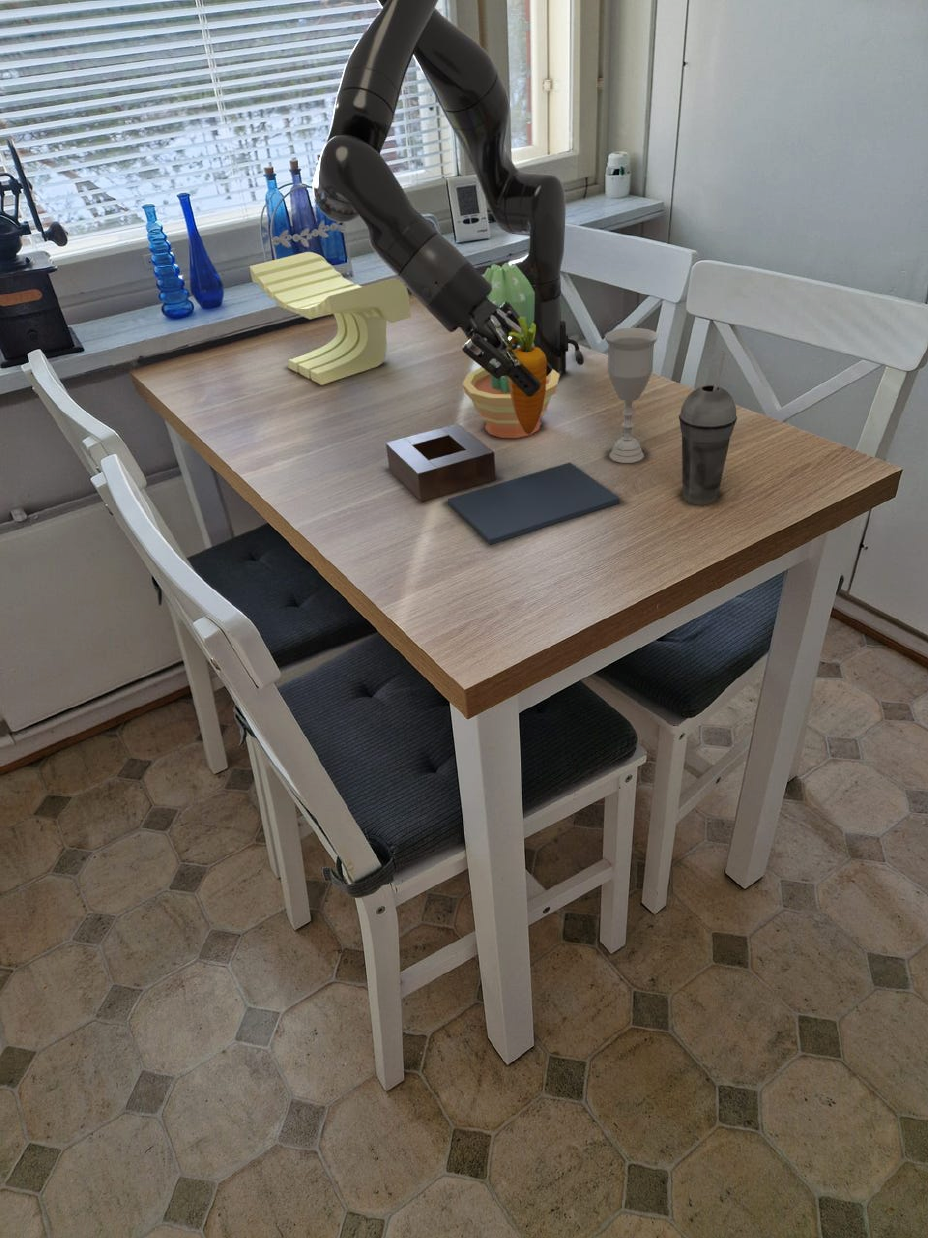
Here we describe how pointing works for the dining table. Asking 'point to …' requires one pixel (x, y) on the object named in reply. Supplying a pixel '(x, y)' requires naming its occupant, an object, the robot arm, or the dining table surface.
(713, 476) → the beverage cup
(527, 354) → the carrot
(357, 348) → the slatted curved stool
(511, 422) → the potted cactus
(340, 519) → the dining table surface
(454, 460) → the stand
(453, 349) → the dining table surface
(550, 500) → the mat
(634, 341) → the chalice
